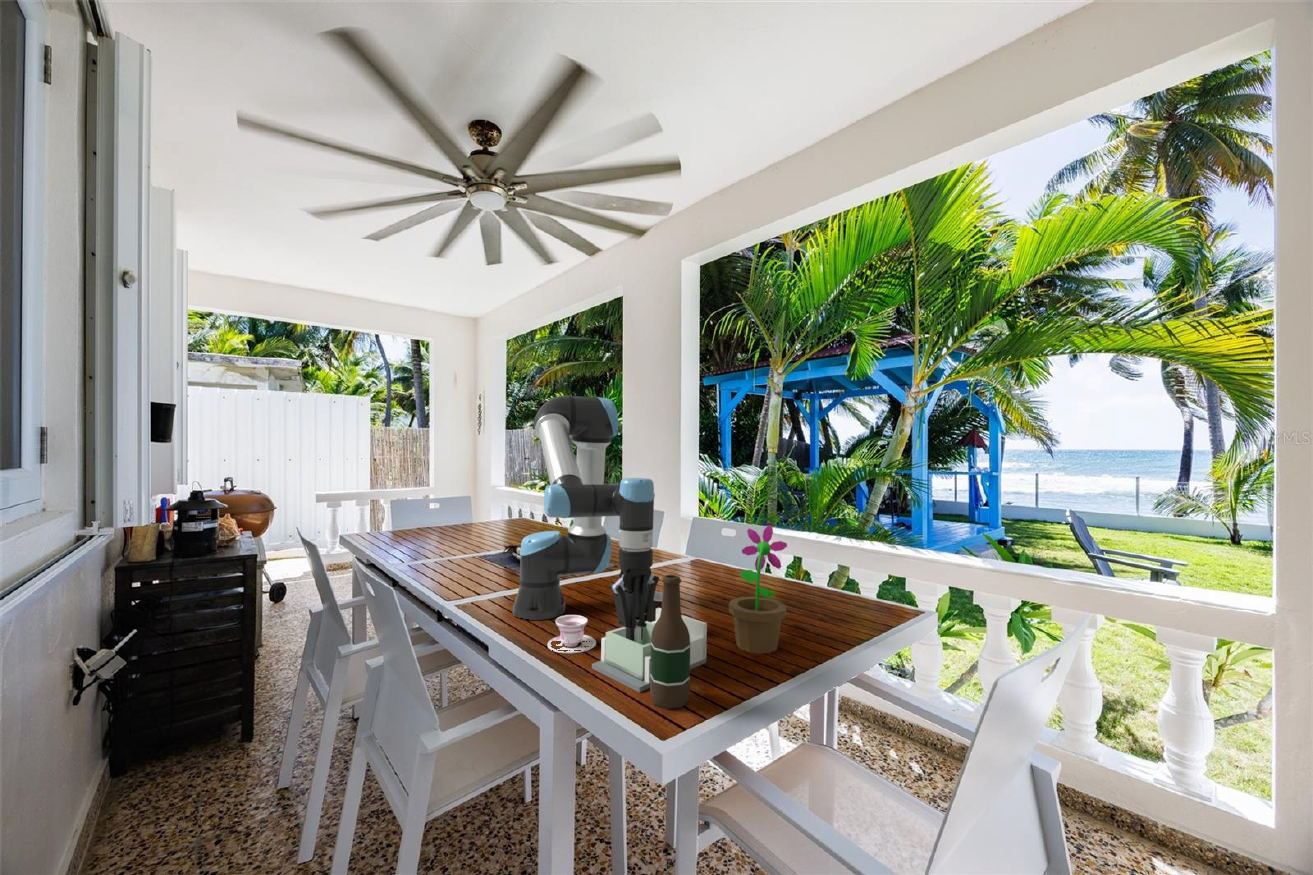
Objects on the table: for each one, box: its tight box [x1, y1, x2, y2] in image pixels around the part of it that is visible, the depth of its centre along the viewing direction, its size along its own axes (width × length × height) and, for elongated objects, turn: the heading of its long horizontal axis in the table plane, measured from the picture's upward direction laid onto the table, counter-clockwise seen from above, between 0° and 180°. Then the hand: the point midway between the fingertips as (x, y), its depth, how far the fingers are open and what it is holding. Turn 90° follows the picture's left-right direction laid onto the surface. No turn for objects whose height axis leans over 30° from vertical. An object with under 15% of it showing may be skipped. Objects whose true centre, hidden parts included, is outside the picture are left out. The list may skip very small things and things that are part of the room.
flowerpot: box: [728, 524, 788, 655], centre depth 127 cm, size 14×14×30 cm
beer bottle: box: [649, 574, 691, 710], centre depth 99 cm, size 8×8×24 cm
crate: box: [605, 621, 655, 680], centre depth 113 cm, size 12×12×7 cm
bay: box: [591, 608, 708, 693], centre depth 114 cm, size 15×21×9 cm
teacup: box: [546, 614, 597, 655], centre depth 126 cm, size 12×12×6 cm
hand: (634, 656), depth 111 cm, fingers closed
